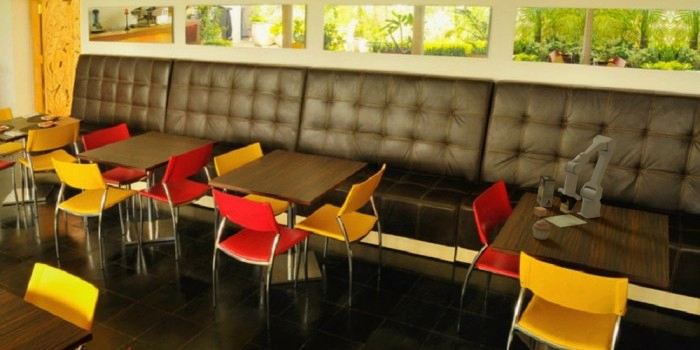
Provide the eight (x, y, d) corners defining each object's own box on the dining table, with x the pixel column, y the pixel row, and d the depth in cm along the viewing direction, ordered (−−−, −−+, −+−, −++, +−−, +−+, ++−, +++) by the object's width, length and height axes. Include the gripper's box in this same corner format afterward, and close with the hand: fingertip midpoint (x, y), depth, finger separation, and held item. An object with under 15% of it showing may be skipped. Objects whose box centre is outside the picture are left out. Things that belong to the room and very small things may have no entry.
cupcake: (533, 232, 301) (535, 213, 298) (552, 236, 296) (554, 217, 293) (528, 238, 293) (530, 219, 290) (547, 243, 289) (550, 223, 286)
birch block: (566, 209, 318) (567, 202, 317) (572, 212, 314) (573, 205, 313) (560, 210, 317) (561, 203, 315) (566, 213, 313) (567, 206, 311)
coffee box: (536, 201, 346) (539, 175, 341) (547, 201, 346) (551, 175, 341) (540, 207, 337) (544, 179, 332) (552, 207, 337) (556, 180, 332)
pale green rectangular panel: (569, 214, 326) (569, 214, 326) (587, 223, 315) (587, 222, 315) (543, 218, 319) (543, 217, 319) (560, 227, 308) (560, 226, 308)
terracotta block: (540, 213, 328) (541, 206, 326) (545, 216, 324) (546, 209, 322) (533, 214, 326) (534, 207, 325) (539, 217, 322) (540, 210, 321)
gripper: (554, 180, 316) (551, 204, 320) (574, 189, 303) (570, 214, 307) (565, 179, 319) (561, 203, 323) (585, 187, 306) (581, 212, 310)
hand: (566, 208), depth 315 cm, fingers closed on birch block, 4 cm apart
